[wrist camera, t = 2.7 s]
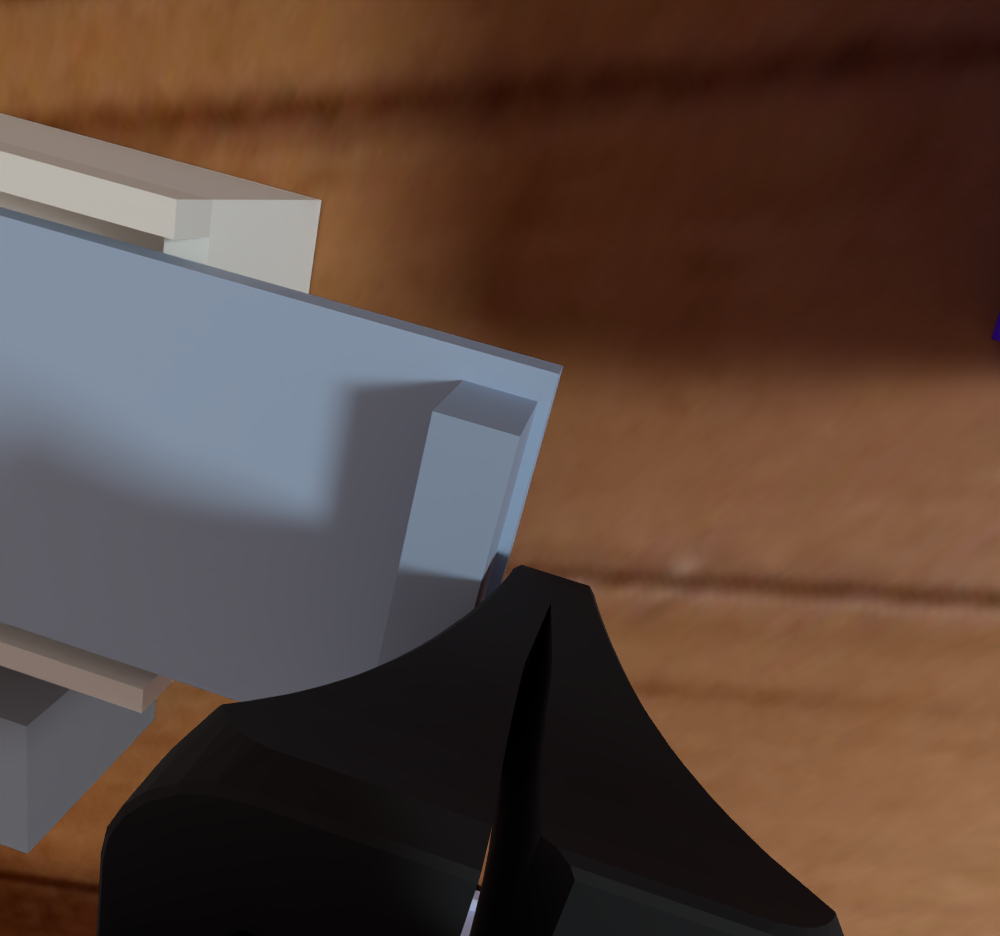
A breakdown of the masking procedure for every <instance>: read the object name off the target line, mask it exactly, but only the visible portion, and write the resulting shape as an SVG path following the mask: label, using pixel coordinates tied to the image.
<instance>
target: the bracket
mask: <svg viewBox="0 0 1000 936" xmlns="http://www.w3.org/2000/svg"><path fill="white" fill-rule="evenodd" d="M992 339H994V340H997V341H999V342H1000V313H999V317H998V320H997V323H996V326H995V329H994V332H993V335H992Z"/></svg>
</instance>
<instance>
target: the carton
mask: <svg viewBox="0 0 1000 936" xmlns="http://www.w3.org/2000/svg"><path fill="white" fill-rule="evenodd" d="M0 207H2V208H6V209H10V210H13V211H17V212H20V213H24V214H27V215H31V216H34V217H38V218H41V219H45V220H49V221H52V222H56V223H59V224H63V225H66V226H70V227H73V228H77V229H80V230H84V231H87V232H91V233H95V234H98V235H102V236H105V237H109V238H112V239H116V240H119V241H123V242H126V243H130V244H133V245H137V246H141V247H144V248H148V249H151V250H155V251H158V252H162V253H165V254H169V255H172V256H176V257H180V258H183V259H187V260H190V261H194V262H197V263H201V264H204V265H208V266H211V267H215V268H218V269H222V270H226V271H229V272H233V273H236V274H240V275H243V276H247V277H250V278H254V279H257V280H261V281H264V282H268V283H272V284H275V285H279V286H282V287H286V288H289V289H293V290H296V291H300V292H303V293H307V294H309V287H310V280H311V272H312V265H313V258H314V251H315V244H316V236H317V229H318V222H319V215H320V208H321V200H319V199H316V198H312V197H308V196H304V195H301V194H297V193H293V192H290V191H286V190H282V189H279V188H275V187H271V186H268V185H264V184H260V183H256V182H253V181H249V180H245V179H242V178H238V177H234V176H231V175H227V174H223V173H220V172H216V171H212V170H208V169H205V168H201V167H197V166H194V165H190V164H186V163H183V162H179V161H175V160H172V159H168V158H164V157H160V156H157V155H153V154H149V153H146V152H142V151H138V150H135V149H131V148H127V147H124V146H120V145H116V144H112V143H109V142H105V141H101V140H98V139H94V138H90V137H87V136H83V135H79V134H76V133H72V132H68V131H64V130H61V129H57V128H53V127H50V126H46V125H42V124H39V123H35V122H31V121H28V120H24V119H20V118H16V117H13V116H9V115H5V114H2V113H0ZM0 665H1V666H4V667H7V668H9V669H12V670H15V671H18V672H21V673H24V674H27V675H30V676H33V677H36V678H39V679H42V680H45V681H48V682H51V683H54V684H57V685H60V686H63V687H66V688H68V689H71V690H74V691H77V692H80V693H83V694H86V695H89V696H92V697H95V698H98V699H101V700H104V701H107V702H110V703H113V704H116V705H119V706H122V707H124V708H127V709H130V710H133V711H136V712H139V713H143V712H144V711H145V710H146V709H147V707H148V706H149V705H150V704H151V703H152V702H153V701H154V700H155V699H156V698H157V697H158V696H159V695H160V694H161V693H162V692H163V691H164V690H165V689H166V688H167V687H168V686H169V685H170V684H171V683H172V682H173V681H174V680H173V679H170V678H167V677H164V676H161V675H158V674H155V673H152V672H149V671H146V670H143V669H140V668H137V667H134V666H131V665H128V664H125V663H122V662H119V661H116V660H113V659H110V658H107V657H104V656H101V655H98V654H95V653H92V652H89V651H86V650H83V649H80V648H77V647H74V646H71V645H68V644H65V643H62V642H59V641H56V640H53V639H50V638H47V637H44V636H41V635H38V634H35V633H32V632H29V631H26V630H23V629H20V628H17V627H14V626H11V625H8V624H6V623H3V622H0Z"/></svg>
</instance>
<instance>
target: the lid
mask: <svg viewBox="0 0 1000 936" xmlns="http://www.w3.org/2000/svg"><path fill="white" fill-rule="evenodd" d="M562 369H563V366H562V365H558V364H555V363H551V362H548V361H544V360H541V359H537V358H534V357H530V356H526V355H523V354H519V353H516V352H512V351H509V350H505V349H502V348H498V347H495V346H491V345H488V344H484V343H480V342H477V341H473V340H470V339H466V338H463V337H459V336H456V335H452V334H449V333H445V332H441V331H438V330H434V329H431V328H427V327H424V326H420V325H417V324H413V323H410V322H406V321H403V320H399V319H395V318H392V317H388V316H385V315H381V314H378V313H374V312H371V311H367V310H364V309H360V308H357V307H353V306H349V305H346V304H342V303H339V302H335V301H332V300H328V299H325V298H321V297H318V296H314V295H311V294H307V293H303V292H300V291H296V290H293V289H289V288H286V287H282V286H279V285H275V284H272V283H268V282H264V281H261V280H257V279H254V278H250V277H247V276H243V275H240V274H236V273H233V272H229V271H226V270H222V269H218V268H215V267H211V266H208V265H204V264H201V263H197V262H194V261H190V260H187V259H183V258H180V257H176V256H172V255H169V254H165V253H162V252H158V251H155V250H151V249H148V248H144V247H141V246H137V245H133V244H130V243H126V242H123V241H119V240H116V239H112V238H109V237H105V236H102V235H98V234H95V233H91V232H87V231H84V230H80V229H77V228H73V227H70V226H66V225H63V224H59V223H56V222H52V221H49V220H45V219H41V218H38V217H34V216H31V215H27V214H24V213H20V212H17V211H13V210H10V209H6V208H2V207H0V622H3V623H6V624H8V625H11V626H14V627H17V628H20V629H23V630H26V631H29V632H32V633H35V634H38V635H41V636H44V637H47V638H50V639H53V640H56V641H59V642H62V643H65V644H68V645H71V646H74V647H77V648H80V649H83V650H86V651H89V652H92V653H95V654H98V655H101V656H104V657H107V658H110V659H113V660H116V661H119V662H122V663H125V664H128V665H131V666H134V667H137V668H140V669H143V670H146V671H149V672H152V673H155V674H158V675H161V676H164V677H167V678H170V679H173V680H176V681H179V682H182V683H185V684H188V685H191V686H194V687H197V688H200V689H203V690H206V691H209V692H212V693H215V694H218V695H221V696H224V697H227V698H230V699H233V700H236V701H239V702H244V701H250V700H256V699H262V698H268V697H274V696H279V695H285V694H290V693H295V692H299V691H303V690H307V689H311V688H315V687H319V686H323V685H327V684H330V683H333V682H336V681H340V680H343V679H346V678H349V677H352V676H355V675H358V674H360V673H363V672H365V671H368V670H370V669H373V668H375V667H377V666H380V665H382V664H384V663H387V662H389V661H391V660H393V659H395V658H397V657H399V656H401V655H403V654H405V653H407V652H409V651H411V650H413V649H415V648H417V647H418V646H420V645H422V644H424V643H425V642H427V641H428V640H430V639H432V638H433V637H435V636H437V635H438V634H440V633H441V632H442V631H444V630H445V629H447V628H448V627H450V626H451V625H453V624H454V623H455V622H457V621H458V620H460V619H461V618H463V617H464V616H465V615H467V614H468V613H469V612H470V611H472V610H473V609H474V608H475V607H476V606H478V605H479V604H480V603H481V602H482V601H483V600H485V599H486V598H487V597H488V596H489V595H490V594H491V593H493V592H494V591H495V590H496V589H497V588H498V587H499V586H500V585H501V584H502V582H503V579H504V575H505V572H506V568H507V565H508V561H509V558H510V554H511V550H512V547H513V543H514V540H515V536H516V533H517V529H518V525H519V522H520V518H521V515H522V511H523V508H524V504H525V501H526V497H527V493H528V490H529V486H530V483H531V479H532V476H533V472H534V468H535V465H536V461H537V458H538V454H539V451H540V447H541V444H542V440H543V436H544V433H545V429H546V426H547V422H548V419H549V415H550V411H551V408H552V404H553V401H554V397H555V394H556V390H557V387H558V383H559V379H560V376H561V372H562Z"/></svg>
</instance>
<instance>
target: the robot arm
mask: <svg viewBox="0 0 1000 936" xmlns="http://www.w3.org/2000/svg"><path fill="white" fill-rule="evenodd" d="M495 804H496V805H495ZM492 824H493V825H492ZM491 829H492V831H491ZM490 833H491V838H490V845H489V851H488V857H487V862H486V867H485V872H484V877H483V882H482V886H481V890H480V891H477V890H476V888H477V885H478V881H479V878H480V874H481V871H482V866H483V862H484V858H485V854H486V850H487V846H488V841H489V837H490ZM97 936H844V935H843V932H842V929H841V926H840V924H839V921H838V918H837V915H836V913H835V911H833V910H832V909H831V908H830V907H829V906H828V905H826V904H825V903H824V902H823V901H822V900H821V899H819V898H818V897H817V896H816V895H815V894H813V893H812V892H811V891H810V890H809V889H808V888H806V887H805V886H804V885H803V884H802V883H801V882H799V881H798V880H797V879H796V878H795V877H794V876H792V875H791V874H790V873H789V872H788V871H786V870H785V869H784V868H783V867H782V866H781V865H779V864H778V863H777V862H776V861H775V860H774V859H772V858H771V857H770V856H769V855H768V854H767V853H766V852H765V851H764V850H763V849H762V848H761V847H760V846H758V845H757V844H756V843H755V842H754V841H753V840H752V839H751V838H750V837H749V836H748V835H747V834H746V833H745V832H744V831H743V830H742V829H741V828H740V827H739V826H738V825H737V824H736V823H735V822H734V821H733V820H732V819H731V818H730V817H729V816H728V815H727V814H726V813H725V811H724V810H723V809H722V808H721V807H720V806H719V805H718V804H717V803H716V802H715V801H714V800H713V799H712V797H711V796H710V795H709V794H708V793H707V792H706V791H705V789H704V788H703V787H702V786H701V785H700V783H699V782H698V781H697V780H696V779H695V778H694V776H693V775H692V774H691V773H690V772H689V770H688V769H687V768H686V767H685V766H684V764H683V763H682V762H681V761H680V759H679V758H678V757H677V755H676V754H675V753H674V751H673V750H672V749H671V748H670V746H669V745H668V743H667V742H666V740H665V739H664V737H663V736H662V735H661V733H660V732H659V730H658V729H657V727H656V726H655V724H654V723H653V722H652V720H651V719H650V717H649V716H648V714H647V712H646V711H645V709H644V708H643V706H642V704H641V703H640V701H639V699H638V697H637V695H636V693H635V692H634V690H633V688H632V686H631V684H630V682H629V680H628V678H627V676H626V674H625V672H624V670H623V668H622V666H621V664H620V662H619V659H618V657H617V655H616V653H615V650H614V648H613V646H612V644H611V641H610V639H609V636H608V634H607V631H606V629H605V626H604V624H603V621H602V618H601V615H600V613H599V610H598V607H597V603H596V600H595V597H594V594H593V592H592V590H591V588H590V586H588V585H585V584H581V583H578V582H575V581H572V580H569V579H565V578H562V577H559V576H556V575H553V574H549V573H546V572H543V571H540V570H537V569H533V568H530V567H527V566H524V565H521V566H518V567H516V568H514V569H513V570H512V572H511V573H510V575H509V576H508V577H507V578H506V579H505V581H504V582H503V583H502V584H501V585H500V586H499V587H498V588H497V589H496V590H495V591H494V592H493V593H491V594H490V595H489V596H488V597H487V598H486V599H485V600H483V601H482V602H481V603H480V604H479V605H478V606H476V607H475V608H474V609H473V610H472V611H470V612H469V613H468V614H467V615H465V616H464V617H463V618H461V619H460V620H458V621H457V622H455V623H454V624H453V625H451V626H450V627H448V628H447V629H445V630H444V631H442V632H441V633H440V634H438V635H437V636H435V637H433V638H432V639H430V640H428V641H427V642H425V643H424V644H422V645H420V646H418V647H417V648H415V649H413V650H411V651H409V652H407V653H405V654H403V655H401V656H399V657H397V658H395V659H393V660H391V661H389V662H387V663H384V664H382V665H380V666H377V667H375V668H373V669H370V670H368V671H365V672H363V673H360V674H358V675H355V676H352V677H349V678H346V679H343V680H340V681H336V682H333V683H330V684H327V685H323V686H319V687H315V688H311V689H307V690H303V691H299V692H295V693H290V694H285V695H279V696H274V697H268V698H262V699H256V700H250V701H244V702H238V703H230V704H223V705H221V706H219V707H218V708H217V709H216V710H214V711H213V712H212V713H211V714H210V715H209V716H208V717H207V718H206V719H204V720H203V721H202V722H201V723H200V724H199V725H198V726H197V727H196V728H194V729H193V730H192V731H191V732H190V733H189V734H188V735H187V736H185V737H184V738H183V739H182V740H181V741H180V742H179V743H178V744H177V745H176V746H175V747H174V748H173V749H172V750H171V751H170V752H169V753H168V754H167V755H166V756H165V757H164V758H163V759H162V760H161V761H160V763H159V764H158V765H157V766H156V767H155V768H154V769H153V770H152V772H151V773H150V774H149V775H148V776H147V778H146V779H145V780H144V781H143V782H142V783H141V785H140V786H139V787H138V788H137V789H136V791H135V792H134V793H133V794H132V795H131V796H130V798H129V799H128V800H127V801H126V802H125V804H124V805H123V806H122V807H121V809H120V810H119V812H118V813H117V814H116V816H115V817H114V818H113V820H112V821H111V823H110V824H109V825H108V827H107V830H106V834H105V838H104V843H103V847H102V851H101V863H100V882H99V901H98V920H97Z"/></svg>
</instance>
